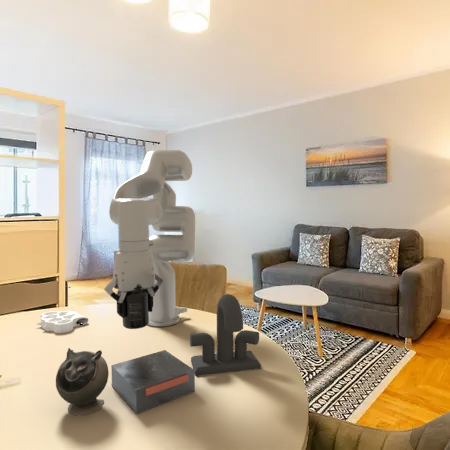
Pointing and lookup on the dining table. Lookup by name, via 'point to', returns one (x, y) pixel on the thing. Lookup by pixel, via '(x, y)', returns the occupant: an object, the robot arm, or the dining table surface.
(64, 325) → the white flat holed piece
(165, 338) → the dining table surface
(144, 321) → the supplement bottle
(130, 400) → the stand
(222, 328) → the faucet
